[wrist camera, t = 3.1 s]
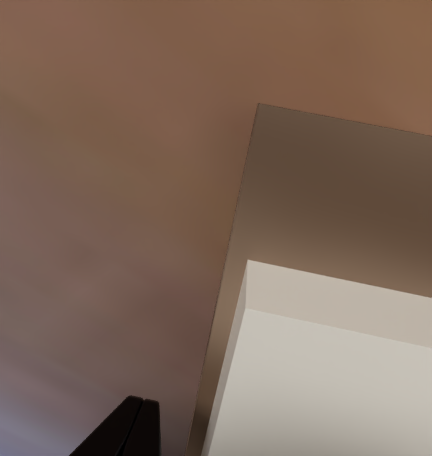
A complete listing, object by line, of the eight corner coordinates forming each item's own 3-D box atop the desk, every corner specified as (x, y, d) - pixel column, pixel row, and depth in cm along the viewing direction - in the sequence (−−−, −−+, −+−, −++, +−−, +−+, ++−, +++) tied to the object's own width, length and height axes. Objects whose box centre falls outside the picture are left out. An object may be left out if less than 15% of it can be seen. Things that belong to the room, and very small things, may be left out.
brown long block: (325, 471, 16) (347, 582, 12) (187, 439, 16) (167, 539, 13) (481, 145, 10) (613, 170, 6) (257, 103, 10) (259, 103, 7)
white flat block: (365, 527, 11) (388, 613, 9) (193, 486, 11) (181, 562, 9) (497, 312, 8) (575, 379, 6) (247, 259, 8) (245, 308, 6)
